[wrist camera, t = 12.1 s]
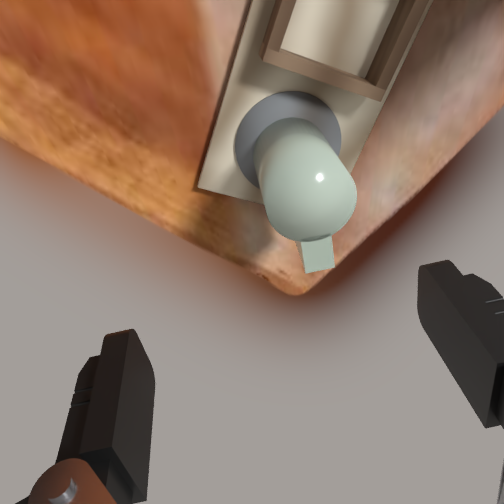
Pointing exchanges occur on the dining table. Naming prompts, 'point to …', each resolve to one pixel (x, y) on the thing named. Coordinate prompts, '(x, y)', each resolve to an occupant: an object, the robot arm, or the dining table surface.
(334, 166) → the sage jug
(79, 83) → the dining table surface
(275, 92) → the jug stand
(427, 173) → the dining table surface
